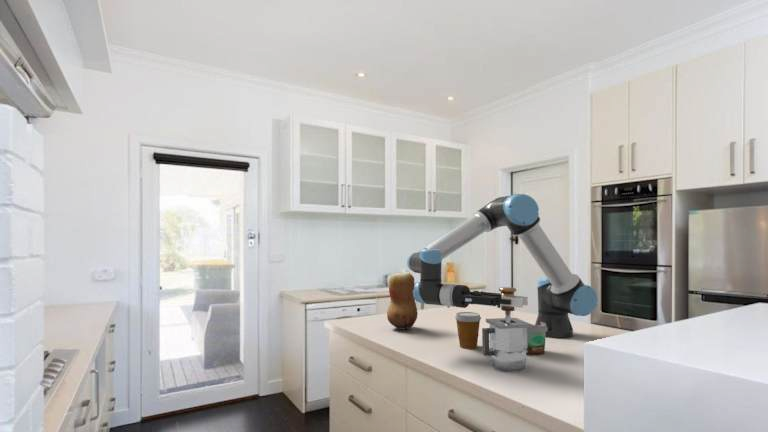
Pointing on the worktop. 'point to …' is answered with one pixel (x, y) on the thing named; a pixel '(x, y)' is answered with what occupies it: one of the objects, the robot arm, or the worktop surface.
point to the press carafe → (506, 344)
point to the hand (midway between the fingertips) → (524, 301)
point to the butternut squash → (402, 301)
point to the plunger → (507, 293)
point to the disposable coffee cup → (468, 329)
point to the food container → (536, 339)
